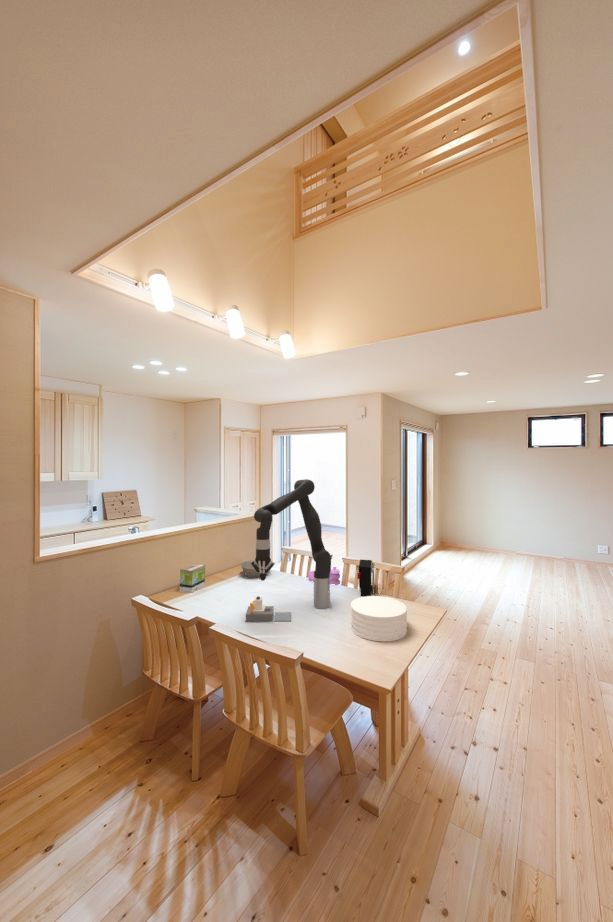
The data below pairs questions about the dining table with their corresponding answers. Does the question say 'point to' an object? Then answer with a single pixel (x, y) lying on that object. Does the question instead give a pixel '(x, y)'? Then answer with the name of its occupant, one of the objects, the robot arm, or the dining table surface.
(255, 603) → the plug
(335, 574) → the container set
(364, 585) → the electrical component
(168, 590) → the dining table surface
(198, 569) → the tea box
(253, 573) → the ceramic bowl
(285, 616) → the mat
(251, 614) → the grey rectangular tray
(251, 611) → the clip
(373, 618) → the plate stack
